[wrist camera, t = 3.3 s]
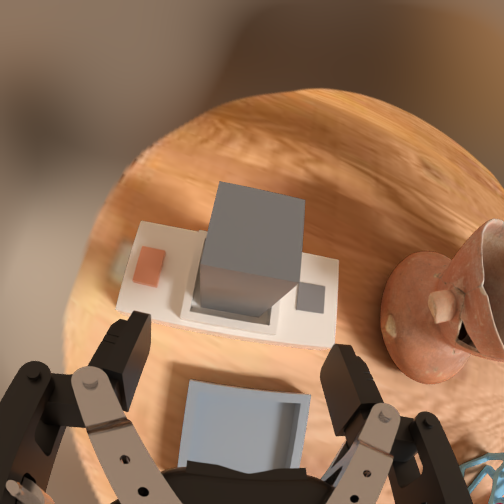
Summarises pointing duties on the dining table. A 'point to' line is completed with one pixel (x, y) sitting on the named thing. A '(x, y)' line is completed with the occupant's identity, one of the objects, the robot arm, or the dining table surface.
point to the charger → (251, 250)
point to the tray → (243, 427)
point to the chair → (501, 476)
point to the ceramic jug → (446, 307)
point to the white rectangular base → (219, 322)
